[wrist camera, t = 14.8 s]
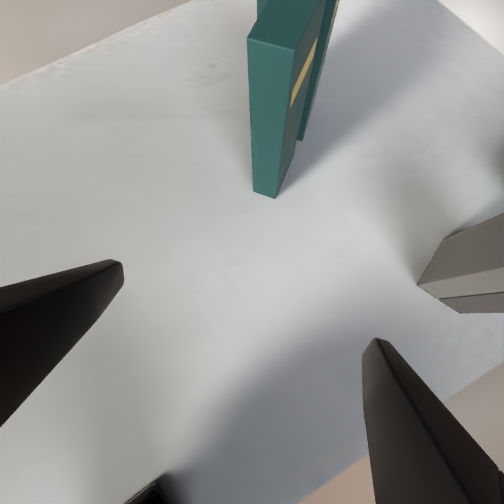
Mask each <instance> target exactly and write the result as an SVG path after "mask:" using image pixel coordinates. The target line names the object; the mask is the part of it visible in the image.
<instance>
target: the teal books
mask: <svg viewBox="0 0 504 504" xmlns="http://www.w3.org/2000/svg"><path fill="white" fill-rule="evenodd" d="M267 1H268V0H257V19H258V17H259V15H260V14H261V12H262V10H263V8H264V6H265V5H266V3H267ZM338 4H339V0H326V5H325V9H324V14H323V19H322V24H321V28H320V33H319V38H318V42H317V47H316V52H315V56H314V61H313V66H312V71H311V75H310V80H309V85H308V89H307V94H306V99H305V103H304V108H303V113H302V118H301V122H300V127H299V132H298V136H297V140H300V141H302V140H303V137H304V133H305V130H306V127H307V123H308V120H309V116H310V113H311V110H312V106H313V103H314V99H315V95H316V91H317V87H318V83H319V79H320V75H321V71H322V67H323V64H324V60H325V56H326V52H327V48H328V44H329V40H330V36H331V32H332V28H333V24H334V20H335V16H336V12H337V8H338Z"/></svg>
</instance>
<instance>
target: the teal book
mask: <svg viewBox="0 0 504 504" xmlns="http://www.w3.org/2000/svg"><path fill="white" fill-rule="evenodd" d="M325 5H326V0H268V1H267V3H266V5H265V6H264V8H263V10H262V12H261V14H260V15H259V17H258V19H257V21H256V23H255V24H254V26H253V28H252V30H251V32H250V33H249V35H248V37H247V52H248V76H249V99H250V123H251V147H252V170H253V191H254V192H257V193H259V194H262V195H265V196H268V197H271V198H274V199H275V198H276V196H277V194H278V191H279V189H280V186H281V184H282V182H283V179H284V177H285V174H286V172H287V170H288V167H289V165H290V163H291V160H292V158H293V155H294V150H295V146H296V141H297V136H298V132H299V127H300V122H301V118H302V113H303V108H304V103H305V99H306V94H307V89H308V85H309V80H310V75H311V71H312V66H313V61H314V56H315V52H316V47H317V42H318V38H319V33H320V28H321V24H322V19H323V14H324V9H325Z"/></svg>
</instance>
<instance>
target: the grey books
mask: <svg viewBox="0 0 504 504" xmlns="http://www.w3.org/2000/svg"><path fill="white" fill-rule="evenodd" d="M417 286H418V287H420V288H421V289H423V290H424V291H426V292H427V293H429V294H431V295H432V296H434V297H435V298H437V299H439V300H440V301H441V302H443V303H444V304H446V305H447V306H449V307H451V308H452V309H454V310H455V311H457V312H458V313H502V312H504V213H503V214H501V215H498V216H496V217H494V218H491V219H489V220H487V221H484V222H482V223H480V224H477V225H475V226H473V227H470V228H468V229H466V230H463V231H461V232H459V233H456V234H454V235H452V236H449V237H447V238H445V239H443V241H442V243H441V244H440V246H439V248H438V249H437V251H436V253H435V255H434V256H433V258H432V260H431V261H430V263H429V265H428V267H427V268H426V270H425V272H424V274H423V275H422V277H421V279H420V280H419V282H418V284H417Z"/></svg>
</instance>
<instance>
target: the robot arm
mask: <svg viewBox="0 0 504 504" xmlns="http://www.w3.org/2000/svg"><path fill="white" fill-rule="evenodd" d="M123 283H124V274H123V266H122V263H121V262H119V261H115V260H112V259H108V260H104V261H100V262H96V263H93V264H89V265H85V266H81V267H77V268H73V269H69V270H66V271H62V272H58V273H54V274H50V275H46V276H42V277H38V278H35V279H31V280H27V281H23V282H19V283H15V284H11V285H7V286H4V287H0V427H1V426H2V425H3V424H4V423H5V422H6V421H7V420H8V418H9V417H10V416H11V415H12V414H13V413H14V412H15V411H16V410H17V408H18V407H19V406H20V405H21V404H22V403H23V402H24V401H25V400H26V399H27V397H28V396H29V395H30V394H31V393H32V392H33V391H34V390H35V389H36V387H37V386H38V385H39V384H40V383H41V382H42V381H43V380H44V379H45V377H46V376H47V375H48V374H49V373H50V372H51V371H52V370H53V369H54V368H55V366H56V365H57V364H58V363H59V362H60V361H61V360H62V359H63V358H64V356H65V355H66V354H67V353H68V352H69V351H70V350H71V349H72V348H73V346H74V345H75V344H76V343H77V342H78V341H79V340H80V339H81V338H82V337H83V335H84V334H85V333H86V332H87V331H88V330H89V329H90V328H91V327H92V325H93V324H94V323H95V322H96V321H97V319H98V318H99V317H100V316H101V314H102V313H103V312H104V310H105V309H106V308H107V306H108V305H109V304H110V302H111V301H112V300H113V298H114V297H115V295H116V294H117V293H118V291H119V290H120V289H121V287H122V286H123ZM362 384H363V409H364V418H365V426H366V433H367V441H368V448H369V456H370V464H371V470H372V479H373V485H374V494H375V500H376V501H375V502H376V504H504V473H503V472H502V471H499V469H498V467H497V465H496V464H495V463H494V462H493V461H492V460H491V459H490V457H489V456H488V455H487V454H486V453H485V452H484V450H483V449H482V448H481V447H480V446H479V445H478V444H477V442H476V441H475V440H474V439H473V438H472V437H471V436H470V434H469V433H468V432H467V431H466V430H465V429H464V427H462V425H461V424H460V423H459V422H458V421H457V420H456V418H455V417H454V416H453V415H452V414H451V412H450V411H449V410H448V409H447V408H446V407H445V406H444V404H443V403H442V402H441V401H440V400H439V399H438V398H437V396H436V395H435V394H434V393H433V392H432V391H431V389H430V388H429V387H428V386H427V385H426V384H425V383H424V381H423V380H422V379H421V378H420V377H419V376H418V375H417V373H416V372H415V371H414V370H413V369H412V368H411V367H410V365H409V364H408V363H407V362H406V361H405V360H404V358H403V357H402V356H401V355H400V354H399V353H398V352H397V350H396V349H395V348H394V347H393V346H392V345H391V344H390V342H388V341H386V340H383V339H380V338H373V339H372V341H371V342H370V344H369V345H368V347H367V348H366V350H365V351H364V353H363V356H362ZM151 490H154V491H155V493H156V494H155V495H154V494H152V493H151ZM126 504H169V503H168V501H167V499H166V497H165V495H164V493H163V490H162V488H161V486H160V485H159V484H158V483H156V482H154V483H152V484H150V485H149V486H148V487H146V488H145V489H144V490H143V491H141V492H140V493H139V494H138V495H136V496H135V497H134V498H132V499H131V500H130V501H129V502H127V503H126Z"/></svg>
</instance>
